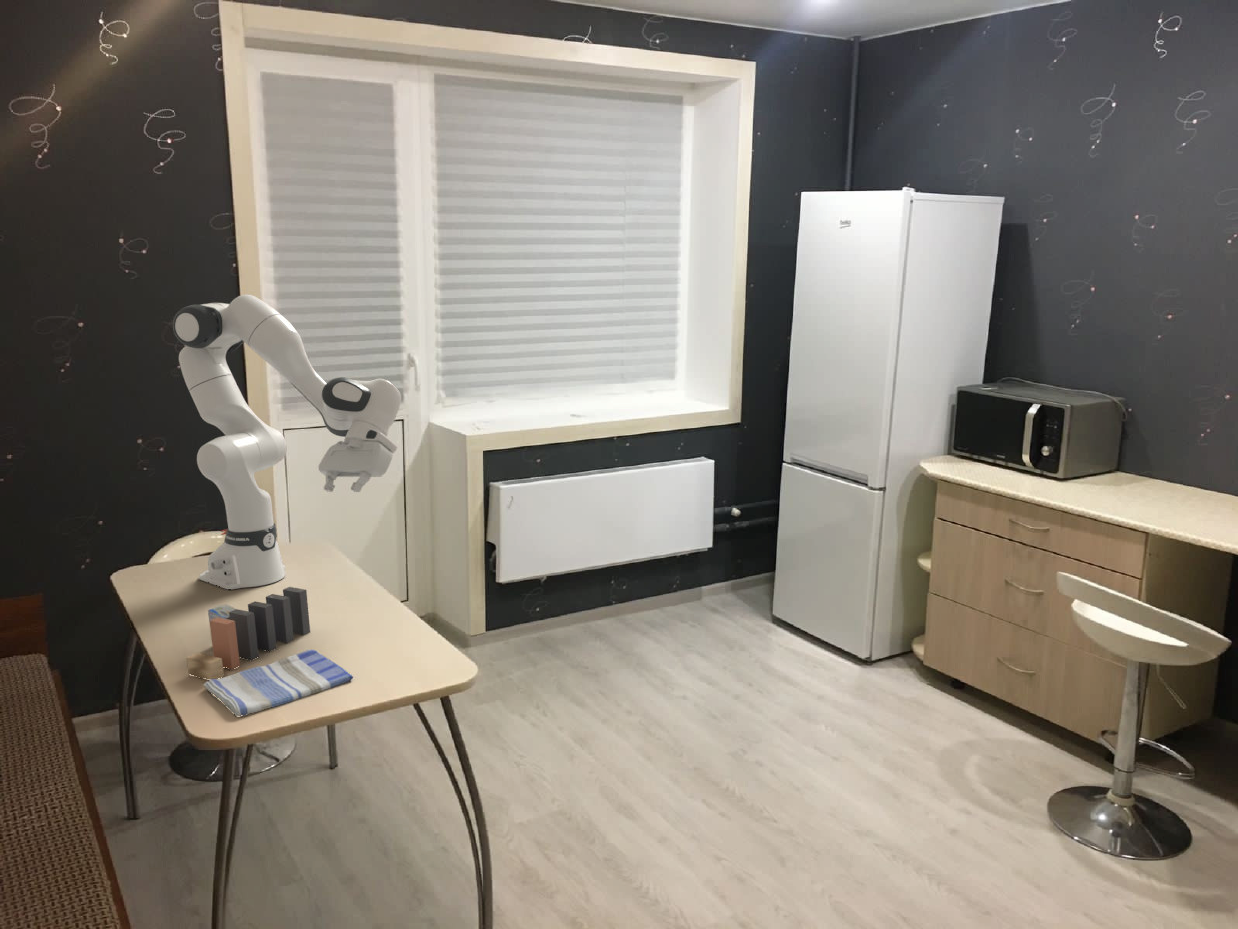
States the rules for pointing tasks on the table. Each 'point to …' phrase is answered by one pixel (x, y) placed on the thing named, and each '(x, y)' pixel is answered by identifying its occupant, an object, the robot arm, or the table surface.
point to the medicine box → (220, 612)
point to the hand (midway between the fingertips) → (341, 490)
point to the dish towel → (277, 682)
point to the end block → (205, 666)
